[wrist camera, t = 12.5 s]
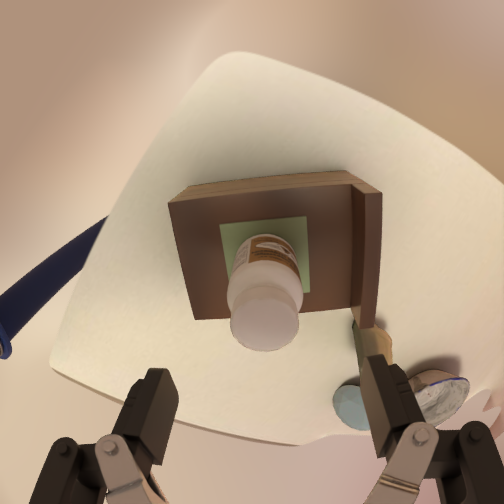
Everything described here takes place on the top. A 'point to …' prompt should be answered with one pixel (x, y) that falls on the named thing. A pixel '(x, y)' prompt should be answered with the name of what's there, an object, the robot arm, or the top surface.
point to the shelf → (291, 230)
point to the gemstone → (351, 407)
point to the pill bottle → (265, 293)
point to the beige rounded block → (371, 343)
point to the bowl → (439, 394)
